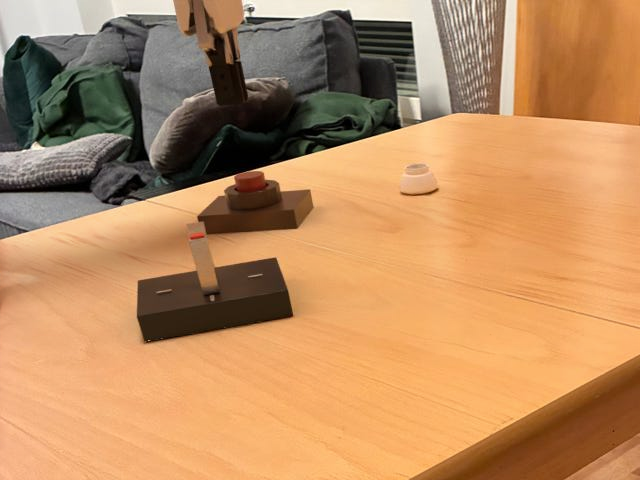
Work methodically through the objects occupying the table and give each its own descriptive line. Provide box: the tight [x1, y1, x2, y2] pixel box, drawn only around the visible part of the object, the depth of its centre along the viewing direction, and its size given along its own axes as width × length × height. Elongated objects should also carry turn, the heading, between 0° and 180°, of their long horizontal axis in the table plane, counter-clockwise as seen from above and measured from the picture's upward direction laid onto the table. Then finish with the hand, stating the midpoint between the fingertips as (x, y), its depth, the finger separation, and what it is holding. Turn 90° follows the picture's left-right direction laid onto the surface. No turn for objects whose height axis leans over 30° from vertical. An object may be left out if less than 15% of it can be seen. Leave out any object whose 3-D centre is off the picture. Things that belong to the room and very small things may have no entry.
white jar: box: [398, 162, 440, 196], centre depth 124 cm, size 5×3×5 cm
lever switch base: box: [136, 256, 294, 342], centre depth 94 cm, size 14×11×3 cm
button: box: [233, 170, 267, 192], centre depth 117 cm, size 4×4×2 cm
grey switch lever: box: [186, 221, 220, 295], centre depth 92 cm, size 6×2×5 cm, turn 15°
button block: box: [196, 179, 315, 236], centre depth 118 cm, size 12×9×4 cm
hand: (233, 102), depth 112 cm, fingers closed
